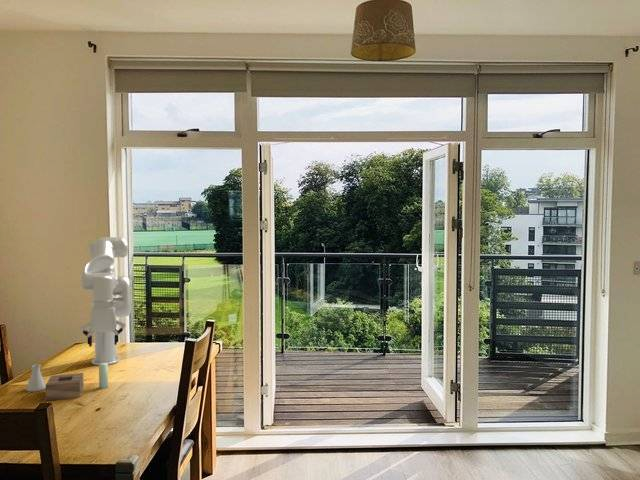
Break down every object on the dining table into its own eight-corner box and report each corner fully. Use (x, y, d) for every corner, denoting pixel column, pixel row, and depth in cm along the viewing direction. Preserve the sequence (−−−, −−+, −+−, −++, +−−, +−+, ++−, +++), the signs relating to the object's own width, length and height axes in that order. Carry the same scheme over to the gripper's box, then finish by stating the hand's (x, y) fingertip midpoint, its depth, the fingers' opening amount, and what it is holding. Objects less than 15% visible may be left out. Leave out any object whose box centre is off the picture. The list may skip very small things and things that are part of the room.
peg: (99, 386, 205) (99, 363, 205) (108, 385, 207) (108, 362, 206) (98, 389, 202) (98, 365, 202) (107, 388, 203) (107, 364, 203)
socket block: (51, 389, 200) (51, 375, 200) (83, 386, 205) (83, 372, 204) (45, 400, 189) (45, 385, 189) (79, 396, 193) (79, 382, 193)
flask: (50, 387, 203) (50, 363, 203) (35, 393, 197) (34, 368, 196) (37, 385, 206) (37, 362, 205) (22, 390, 199) (21, 366, 199)
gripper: (125, 302, 209) (125, 341, 210) (81, 303, 203) (81, 344, 204) (124, 305, 202) (125, 345, 203) (78, 307, 196) (79, 348, 197)
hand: (103, 345), depth 203 cm, fingers open, 9 cm apart
